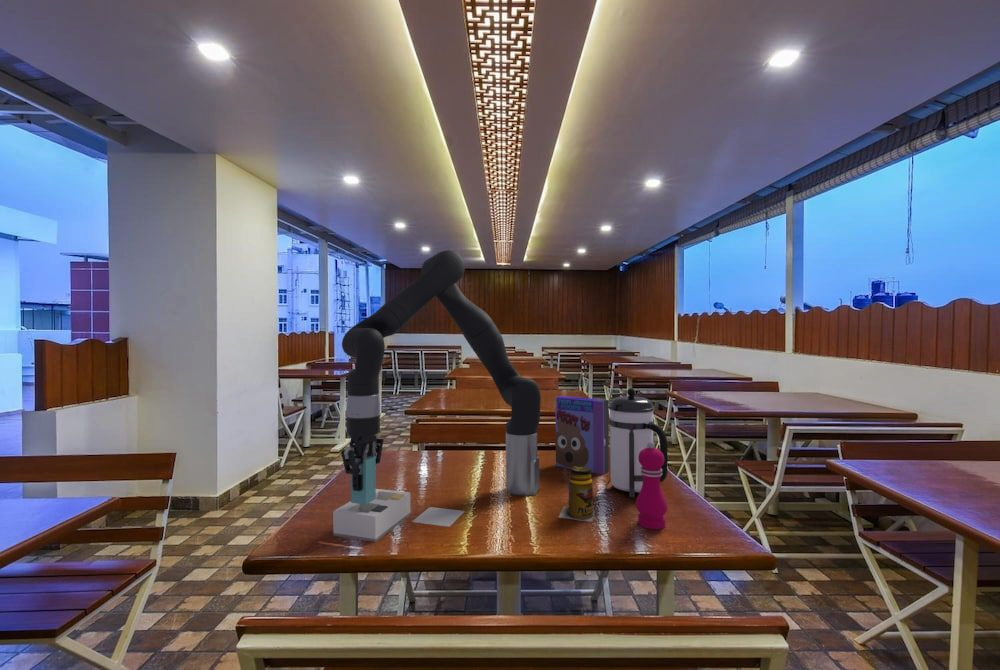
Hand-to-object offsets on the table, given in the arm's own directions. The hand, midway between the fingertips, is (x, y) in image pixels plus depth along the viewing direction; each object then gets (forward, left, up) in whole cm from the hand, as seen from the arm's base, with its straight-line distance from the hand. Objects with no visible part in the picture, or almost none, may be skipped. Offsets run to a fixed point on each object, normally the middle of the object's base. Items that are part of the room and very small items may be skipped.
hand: (363, 486), depth 108 cm
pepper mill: (-64, -24, -11) cm, 69 cm away
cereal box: (-42, -65, -11) cm, 78 cm away
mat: (-13, -13, -11) cm, 21 cm away
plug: (0, 0, -3) cm, 3 cm away
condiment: (-46, -25, -11) cm, 54 cm away
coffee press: (-60, -46, -11) cm, 76 cm away
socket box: (0, -4, -11) cm, 11 cm away
